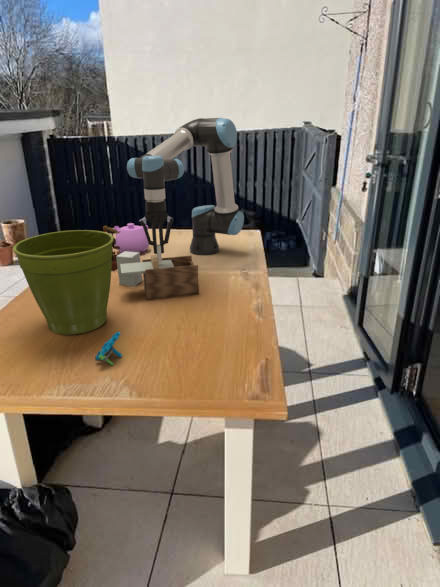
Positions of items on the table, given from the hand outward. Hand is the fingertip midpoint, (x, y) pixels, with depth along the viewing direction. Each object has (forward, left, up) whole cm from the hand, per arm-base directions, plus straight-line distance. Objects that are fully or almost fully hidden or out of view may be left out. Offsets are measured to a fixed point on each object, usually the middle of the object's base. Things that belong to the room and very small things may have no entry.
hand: (159, 261), depth 164 cm
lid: (+5, 0, -2) cm, 5 cm away
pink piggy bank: (+7, -61, -13) cm, 63 cm away
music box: (+20, -37, -13) cm, 44 cm away
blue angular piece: (+21, +46, -13) cm, 52 cm away
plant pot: (+31, +20, -13) cm, 39 cm away
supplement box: (+11, -14, -13) cm, 22 cm away
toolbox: (-4, 0, -13) cm, 13 cm away
